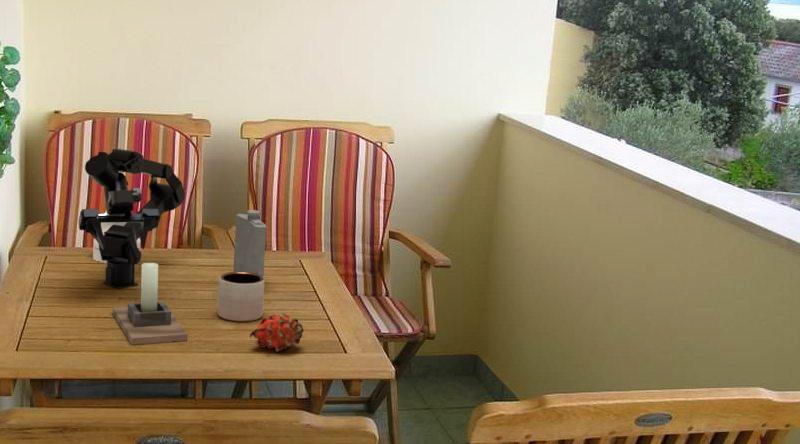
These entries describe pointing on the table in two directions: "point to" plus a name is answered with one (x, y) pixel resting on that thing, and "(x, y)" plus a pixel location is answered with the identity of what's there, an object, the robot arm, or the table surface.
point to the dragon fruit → (278, 332)
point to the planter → (240, 296)
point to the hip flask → (249, 243)
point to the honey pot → (105, 227)
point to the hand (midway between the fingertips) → (124, 248)
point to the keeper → (149, 324)
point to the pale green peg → (149, 287)
